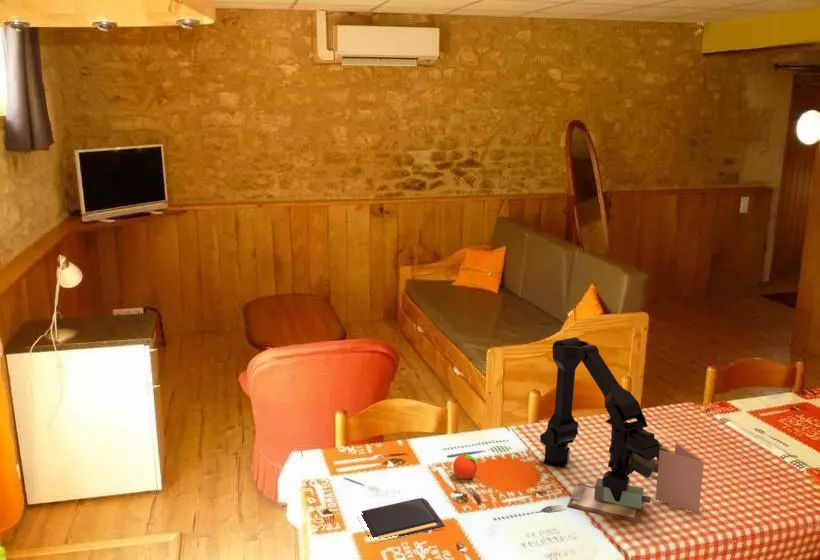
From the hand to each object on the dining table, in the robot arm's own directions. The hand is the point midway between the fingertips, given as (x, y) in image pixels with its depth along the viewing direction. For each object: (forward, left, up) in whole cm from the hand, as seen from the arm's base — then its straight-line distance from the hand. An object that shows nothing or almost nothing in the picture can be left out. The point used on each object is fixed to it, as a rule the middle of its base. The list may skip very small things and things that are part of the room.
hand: (618, 497), depth 191 cm
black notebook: (-50, -31, -3) cm, 59 cm away
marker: (0, 0, -1) cm, 1 cm away
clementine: (-42, -4, -2) cm, 42 cm away
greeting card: (+14, +6, -2) cm, 15 cm away
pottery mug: (+8, +24, -3) cm, 26 cm away
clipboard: (-3, -1, -2) cm, 4 cm away
